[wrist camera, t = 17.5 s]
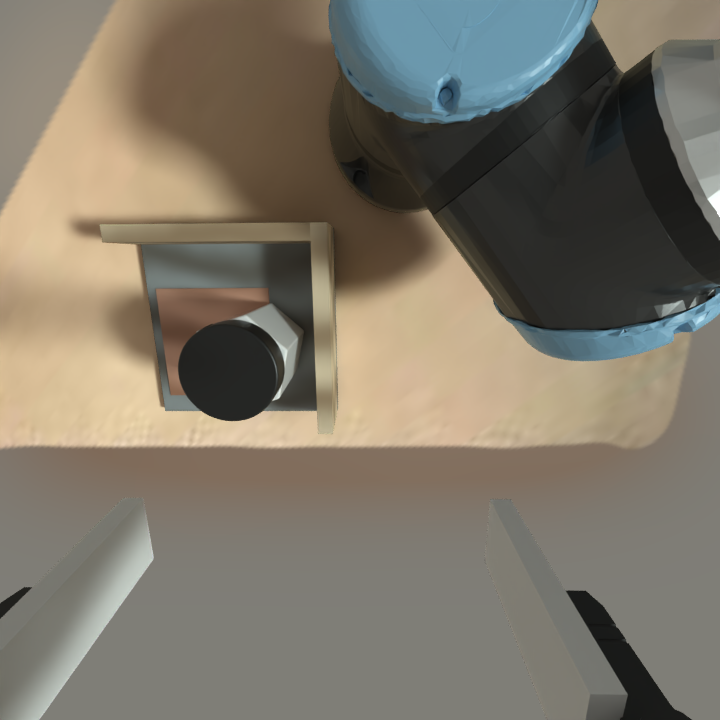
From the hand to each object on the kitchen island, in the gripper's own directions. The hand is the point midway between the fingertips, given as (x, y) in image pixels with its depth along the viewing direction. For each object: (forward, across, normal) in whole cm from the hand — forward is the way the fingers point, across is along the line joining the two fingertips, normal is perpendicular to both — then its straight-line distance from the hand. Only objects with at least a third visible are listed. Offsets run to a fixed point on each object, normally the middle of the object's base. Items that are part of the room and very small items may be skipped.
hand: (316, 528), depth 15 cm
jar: (+29, -9, +1) cm, 30 cm away
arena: (+30, -12, +3) cm, 32 cm away
